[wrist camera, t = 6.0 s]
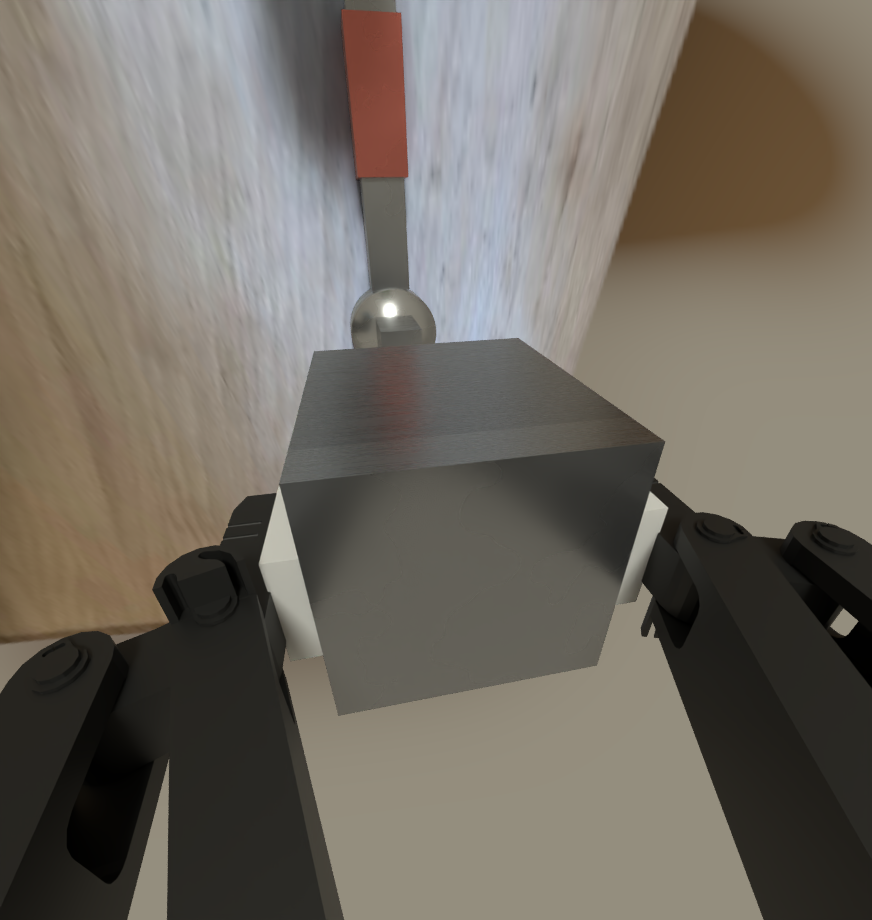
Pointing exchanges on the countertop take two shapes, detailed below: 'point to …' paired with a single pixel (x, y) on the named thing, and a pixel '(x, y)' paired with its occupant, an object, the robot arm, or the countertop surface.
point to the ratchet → (381, 175)
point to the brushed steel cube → (459, 516)
